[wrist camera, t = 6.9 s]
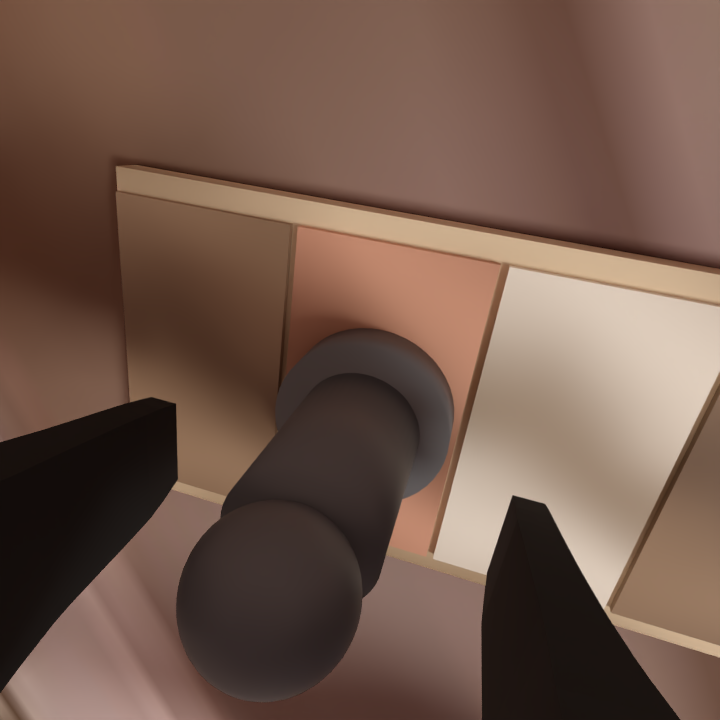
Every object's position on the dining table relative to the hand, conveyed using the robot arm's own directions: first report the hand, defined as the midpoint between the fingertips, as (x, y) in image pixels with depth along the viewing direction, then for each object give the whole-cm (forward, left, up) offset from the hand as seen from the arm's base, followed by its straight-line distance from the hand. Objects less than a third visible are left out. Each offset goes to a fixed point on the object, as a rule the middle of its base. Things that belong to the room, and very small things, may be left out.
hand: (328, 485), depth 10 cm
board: (0, -5, -4) cm, 7 cm away
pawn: (0, 0, -3) cm, 3 cm away
